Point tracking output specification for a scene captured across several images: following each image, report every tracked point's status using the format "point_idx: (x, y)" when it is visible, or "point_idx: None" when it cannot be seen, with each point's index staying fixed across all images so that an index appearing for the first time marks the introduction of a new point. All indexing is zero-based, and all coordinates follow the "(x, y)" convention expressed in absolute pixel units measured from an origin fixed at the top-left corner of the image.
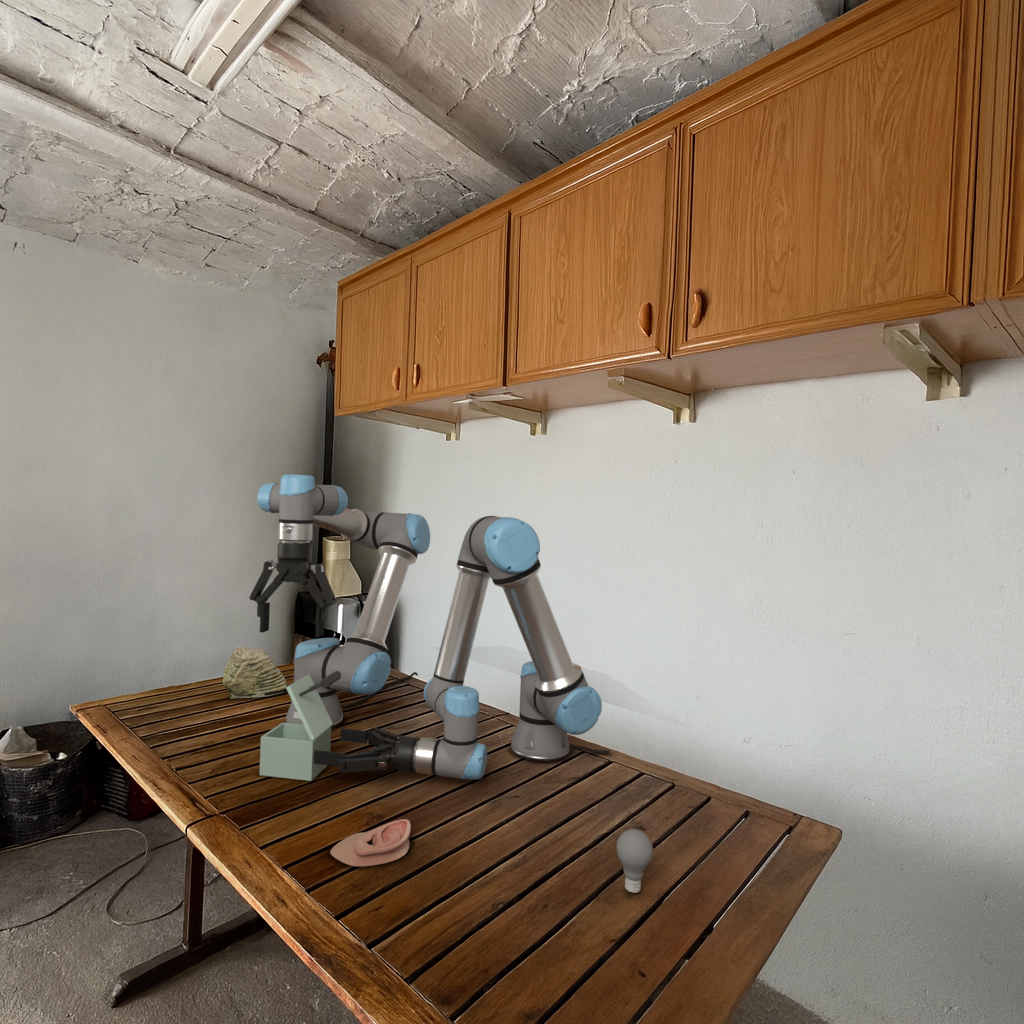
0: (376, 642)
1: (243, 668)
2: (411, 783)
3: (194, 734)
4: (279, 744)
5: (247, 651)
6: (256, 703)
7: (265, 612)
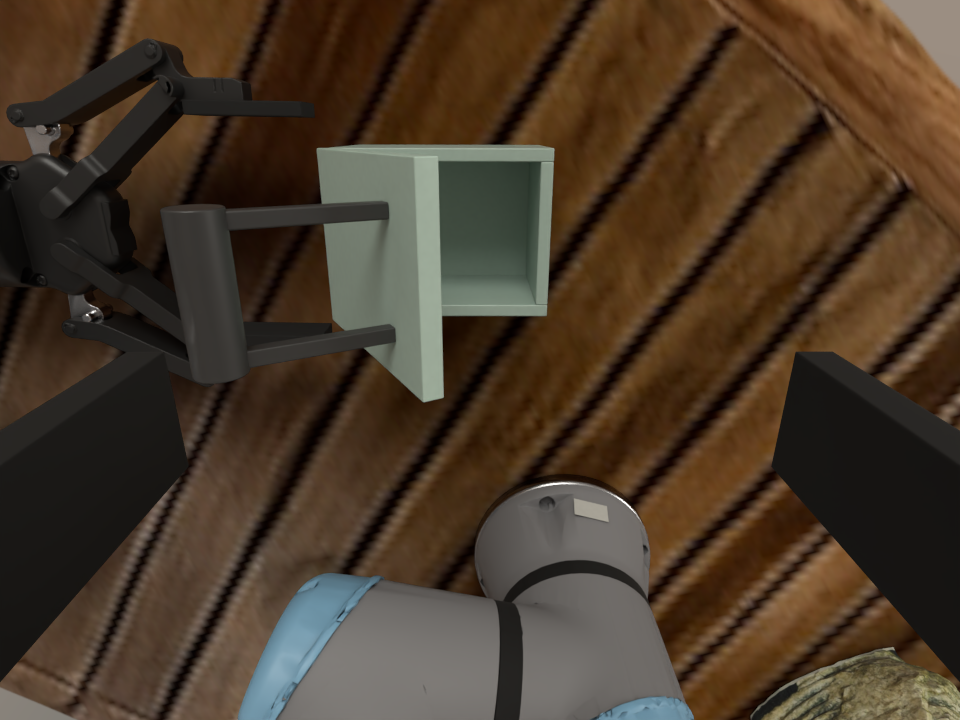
0: None
1: None
2: None
3: (886, 384)
4: (471, 147)
5: None
6: (797, 634)
7: (948, 529)
